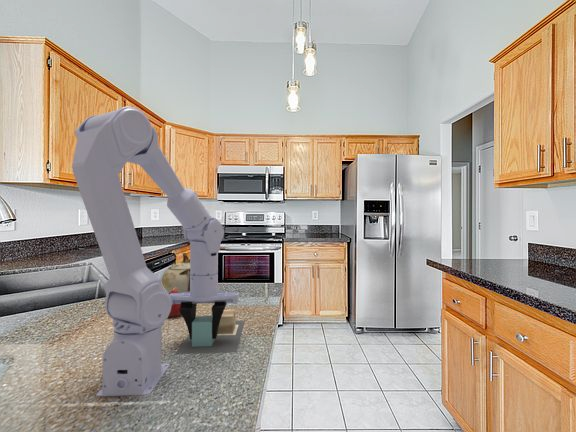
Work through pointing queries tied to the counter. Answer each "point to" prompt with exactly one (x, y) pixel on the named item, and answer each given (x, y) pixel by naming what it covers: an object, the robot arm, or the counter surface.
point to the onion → (174, 306)
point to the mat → (216, 343)
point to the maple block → (227, 322)
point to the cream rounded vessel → (178, 276)
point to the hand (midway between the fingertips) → (203, 337)
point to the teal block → (202, 331)
